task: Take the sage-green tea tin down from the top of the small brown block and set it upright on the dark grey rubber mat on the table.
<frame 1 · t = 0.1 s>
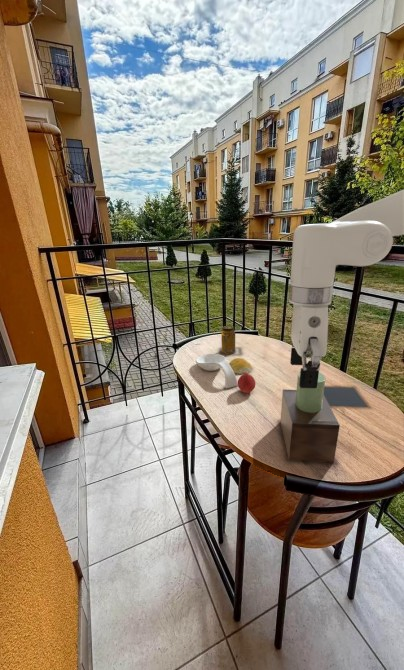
hand: (302, 375, 59), 22 cm above the table, tool pointing down, fingers open, 9 cm apart
mat: (341, 397, 89), on the table
brown block: (304, 441, 71), on the table
onion: (246, 393, 94), on the table
tea tin: (308, 405, 68), point 11 cm above the table, touching brown block
condiment: (230, 353, 125), on the table
spoon rest: (217, 374, 107), on the table
bread roll: (239, 369, 110), on the table
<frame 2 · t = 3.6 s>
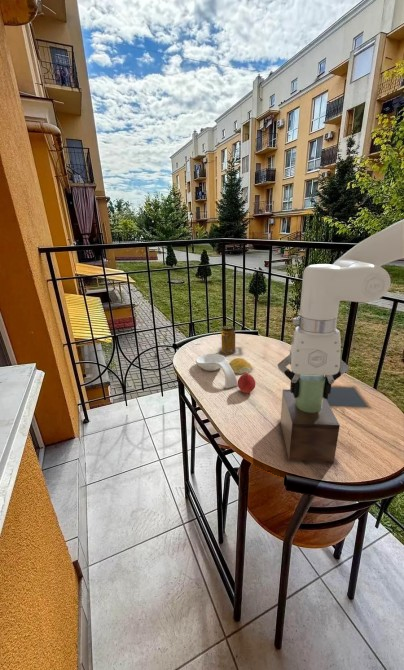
hand: (309, 394, 67), 14 cm above the table, tool pointing down, fingers closed on tea tin, 6 cm apart
tea tin: (308, 405, 68), point 11 cm above the table, touching gripper, brown block
everything else where it was.
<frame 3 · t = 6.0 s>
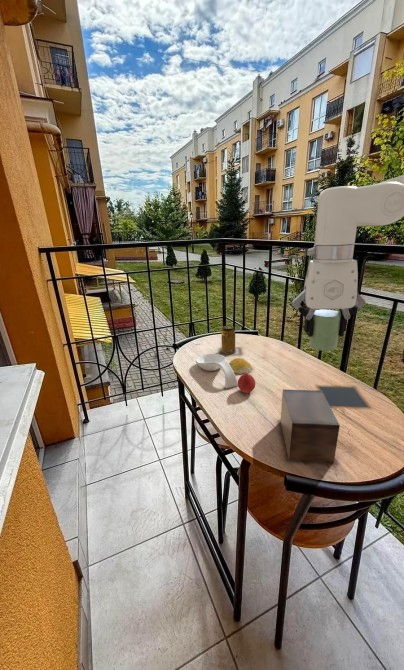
hand: (324, 333, 64), 28 cm above the table, tool pointing down, fingers closed on tea tin, 6 cm apart
tea tin: (322, 345, 65), point 25 cm above the table, touching gripper
everything else where it was.
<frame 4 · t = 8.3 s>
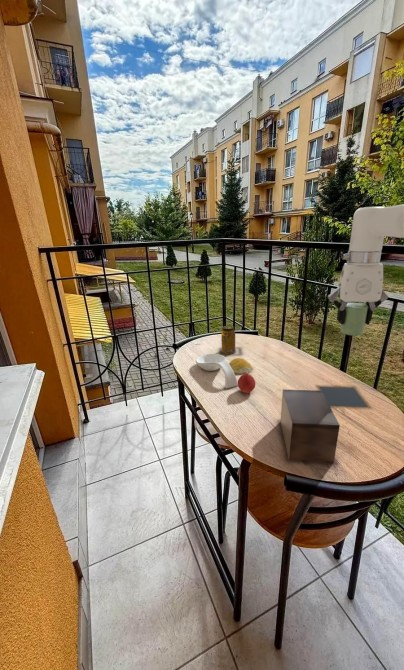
hand: (353, 322, 80), 25 cm above the table, tool pointing down, fingers closed on tea tin, 6 cm apart
tea tin: (351, 332, 81), point 22 cm above the table, touching gripper
everything else where it was.
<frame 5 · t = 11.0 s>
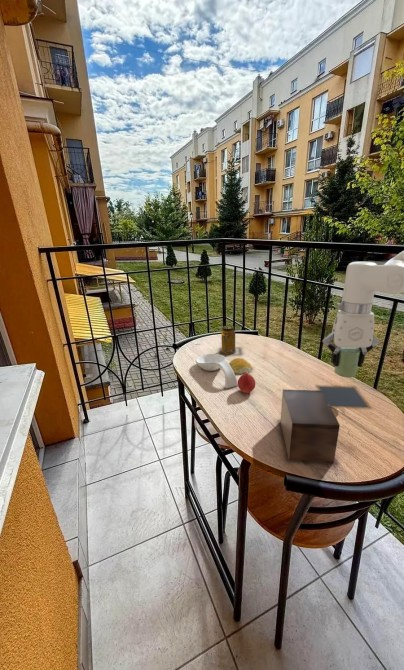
hand: (346, 364, 85), 12 cm above the table, tool pointing down, fingers closed on tea tin, 6 cm apart
tea tin: (345, 372, 86), point 9 cm above the table, touching gripper
everything else where it was.
when the fingers open (4 cm above the table, at t = 13.3 s): tea tin stays where it is, resting on mat.
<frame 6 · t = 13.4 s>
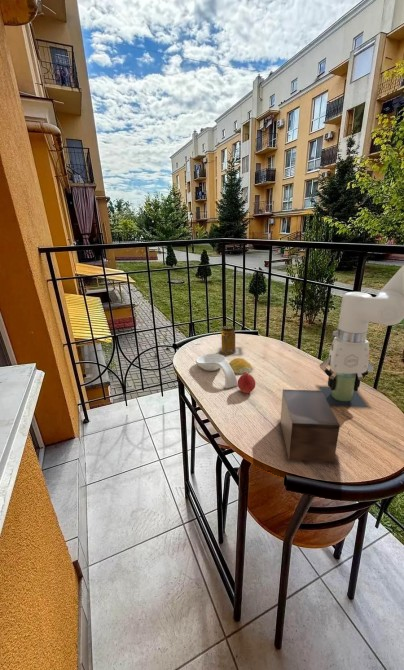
hand: (342, 388, 88), 4 cm above the table, tool pointing down, fingers open, 6 cm apart
tea tin: (341, 396, 89), point 1 cm above the table, touching mat
everything else where it was.
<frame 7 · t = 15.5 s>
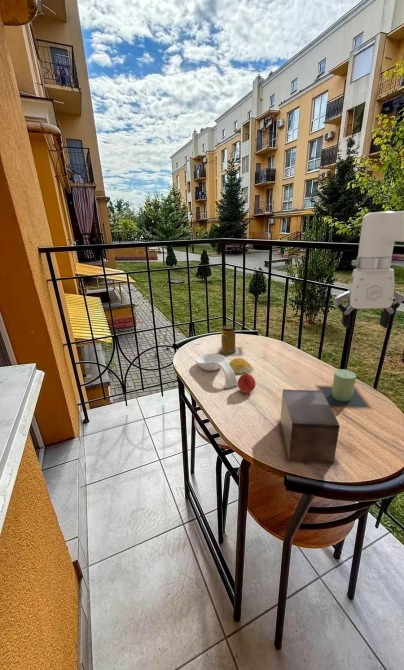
hand: (364, 326, 78), 25 cm above the table, tool pointing down, fingers open, 9 cm apart
nothing on the table moved.
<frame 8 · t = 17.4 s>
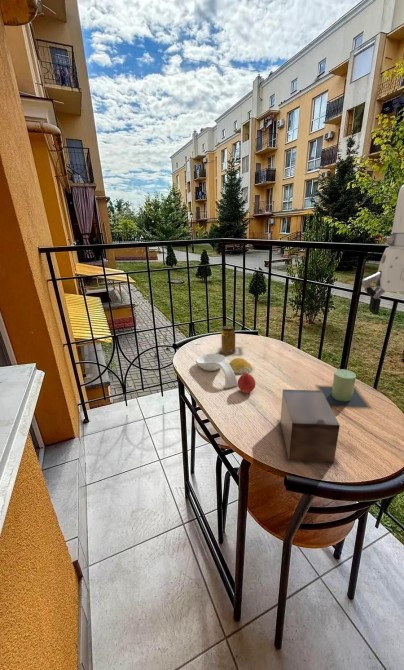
hand: (394, 312, 70), 30 cm above the table, tool pointing down, fingers open, 9 cm apart
nothing on the table moved.
at the end: tea tin inside the target area on the mat (0.1 cm from its centre), point 0.6 cm above the mat's base; tea tin tilted 0°; the gripper is holding nothing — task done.
